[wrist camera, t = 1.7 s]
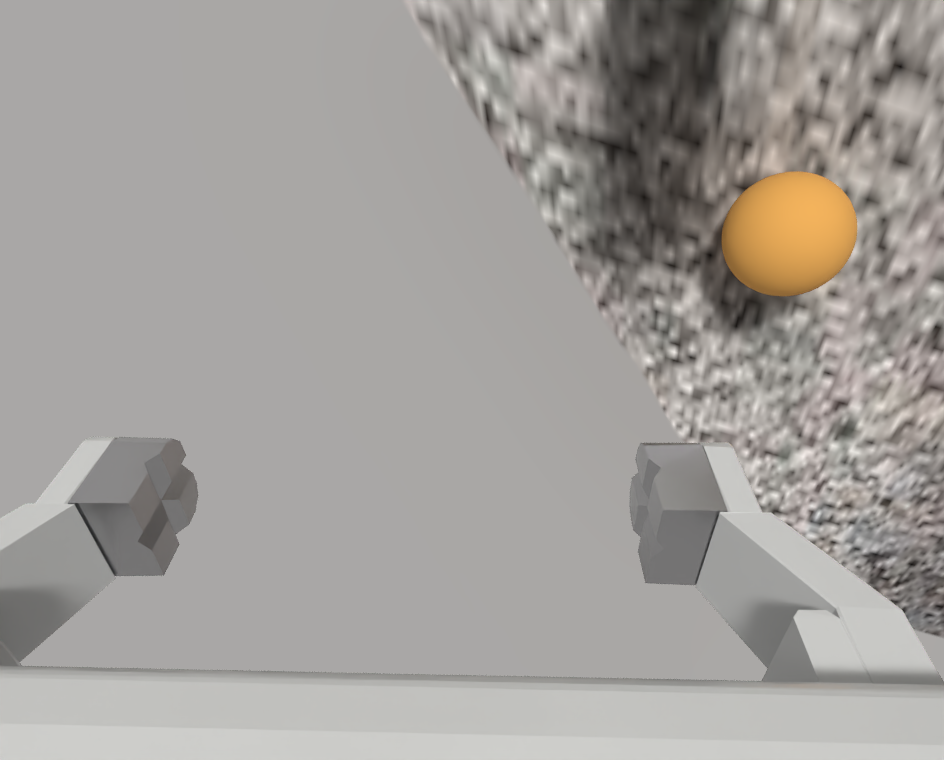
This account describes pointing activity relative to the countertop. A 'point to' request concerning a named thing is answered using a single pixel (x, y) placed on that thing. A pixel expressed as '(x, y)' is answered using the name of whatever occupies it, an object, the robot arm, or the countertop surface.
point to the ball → (789, 233)
